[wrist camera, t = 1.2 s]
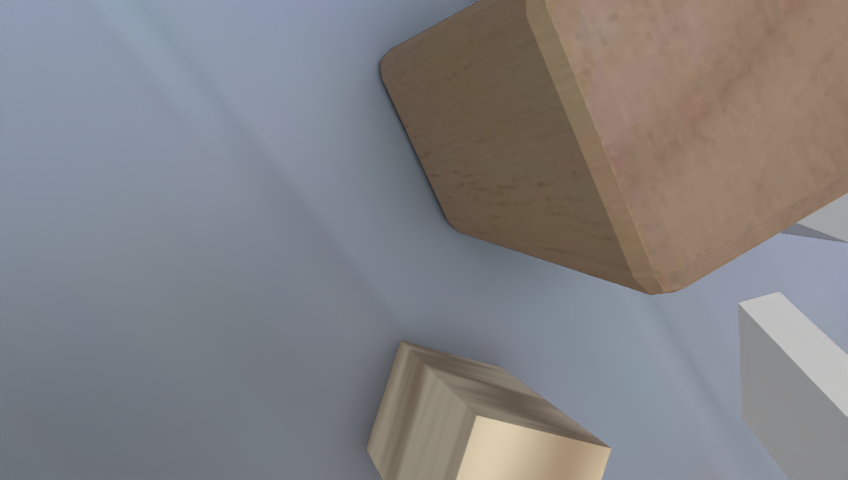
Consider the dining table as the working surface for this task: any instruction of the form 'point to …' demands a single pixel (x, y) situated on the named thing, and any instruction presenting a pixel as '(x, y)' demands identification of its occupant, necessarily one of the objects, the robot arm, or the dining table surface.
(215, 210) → the dining table surface
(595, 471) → the oak block
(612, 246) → the block
